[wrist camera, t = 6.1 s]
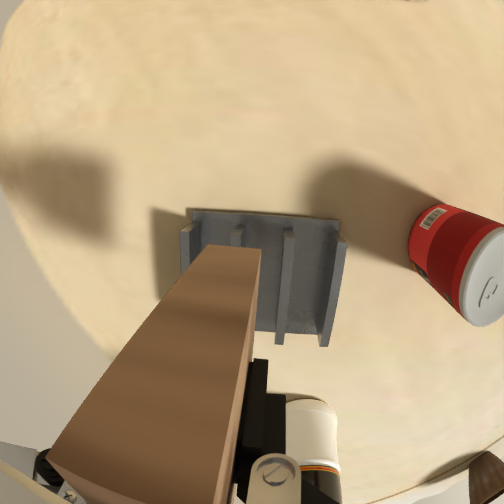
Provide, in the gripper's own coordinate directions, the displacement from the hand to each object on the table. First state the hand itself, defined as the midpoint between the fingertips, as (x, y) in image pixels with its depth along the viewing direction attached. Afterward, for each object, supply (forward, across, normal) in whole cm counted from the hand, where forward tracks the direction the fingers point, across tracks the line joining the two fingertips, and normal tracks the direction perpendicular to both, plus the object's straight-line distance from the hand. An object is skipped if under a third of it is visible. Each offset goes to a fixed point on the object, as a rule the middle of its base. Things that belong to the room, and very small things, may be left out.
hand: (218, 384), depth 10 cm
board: (+3, 0, 0) cm, 3 cm away
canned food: (+18, -19, -3) cm, 26 cm away
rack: (+18, -1, +2) cm, 18 cm away
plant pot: (+19, -68, +55) cm, 89 cm away
